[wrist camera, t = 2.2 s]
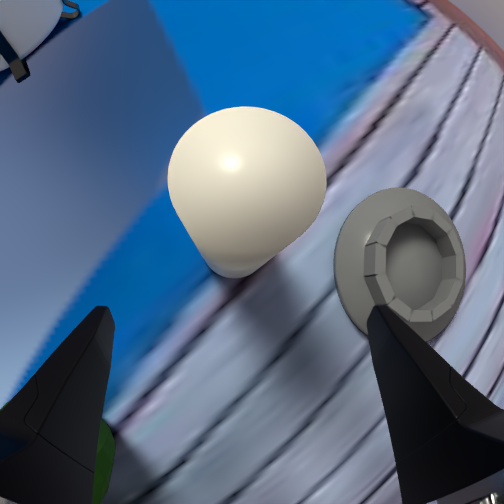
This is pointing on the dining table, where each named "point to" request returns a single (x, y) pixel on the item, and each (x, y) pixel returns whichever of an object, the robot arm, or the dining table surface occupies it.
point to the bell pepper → (102, 462)
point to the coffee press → (27, 30)
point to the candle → (245, 186)
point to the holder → (400, 261)
